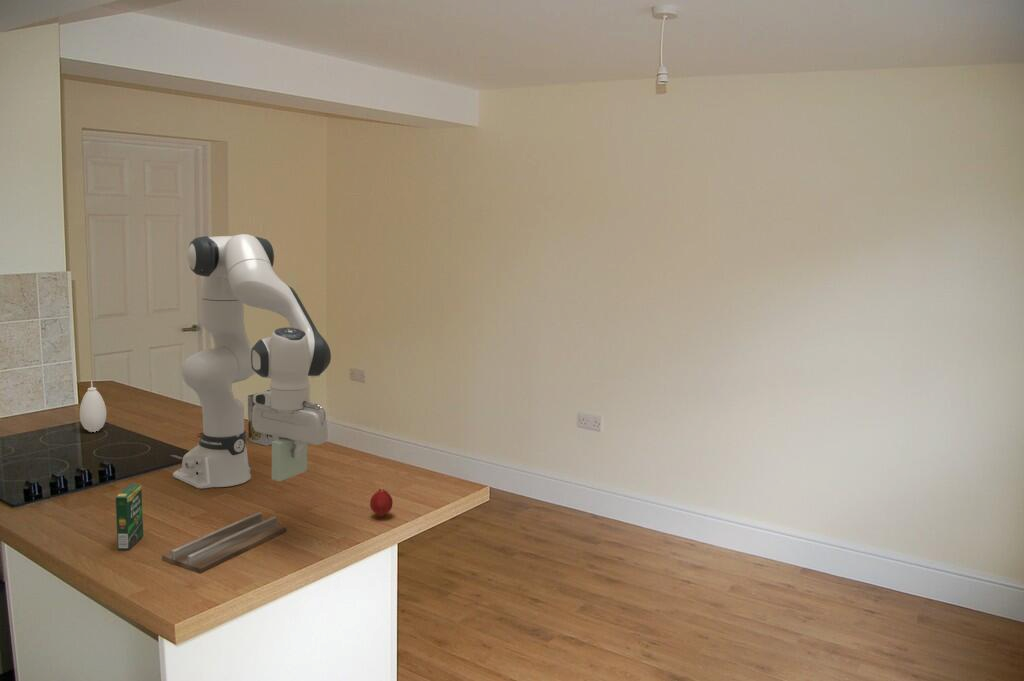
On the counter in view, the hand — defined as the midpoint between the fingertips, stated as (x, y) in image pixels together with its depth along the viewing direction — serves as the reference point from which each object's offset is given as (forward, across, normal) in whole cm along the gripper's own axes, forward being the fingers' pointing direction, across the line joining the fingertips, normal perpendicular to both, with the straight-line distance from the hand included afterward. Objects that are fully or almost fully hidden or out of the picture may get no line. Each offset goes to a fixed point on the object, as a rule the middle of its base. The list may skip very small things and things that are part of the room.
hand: (289, 456), depth 177 cm
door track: (+21, +11, +9) cm, 26 cm away
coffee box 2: (+22, +30, +20) cm, 42 cm away
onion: (+22, -9, -24) cm, 34 cm away
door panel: (+5, 0, 0) cm, 5 cm away
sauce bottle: (+22, +116, -31) cm, 122 cm away
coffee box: (+22, +62, -55) cm, 86 cm away
